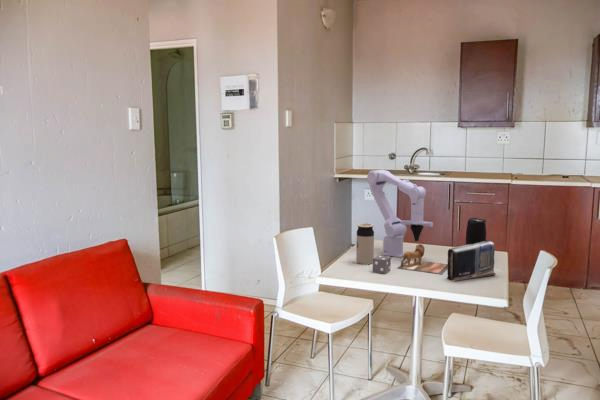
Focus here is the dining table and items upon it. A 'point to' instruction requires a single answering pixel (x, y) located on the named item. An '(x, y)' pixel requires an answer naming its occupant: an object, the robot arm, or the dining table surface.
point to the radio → (471, 261)
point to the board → (425, 267)
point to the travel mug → (365, 243)
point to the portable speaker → (475, 231)
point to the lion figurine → (414, 255)
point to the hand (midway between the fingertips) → (416, 240)
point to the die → (381, 264)
